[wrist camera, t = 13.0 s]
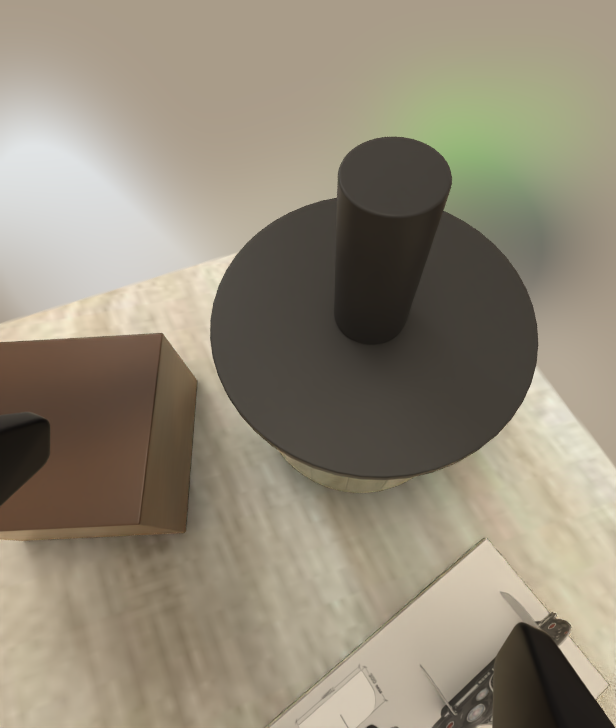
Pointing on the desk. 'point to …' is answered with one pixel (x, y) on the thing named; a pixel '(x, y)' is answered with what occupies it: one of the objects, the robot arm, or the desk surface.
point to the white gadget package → (437, 655)
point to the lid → (375, 324)
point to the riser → (101, 436)
